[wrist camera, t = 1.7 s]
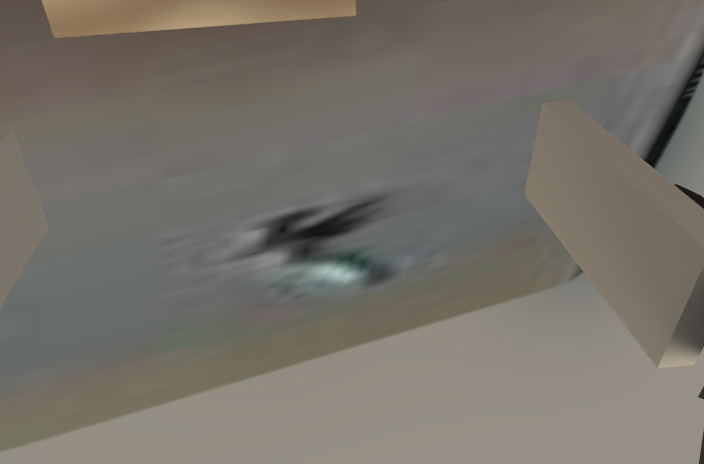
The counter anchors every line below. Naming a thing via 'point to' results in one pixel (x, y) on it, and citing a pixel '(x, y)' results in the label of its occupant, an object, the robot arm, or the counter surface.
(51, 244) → the counter surface
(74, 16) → the beige slab
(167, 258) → the counter surface
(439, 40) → the counter surface
